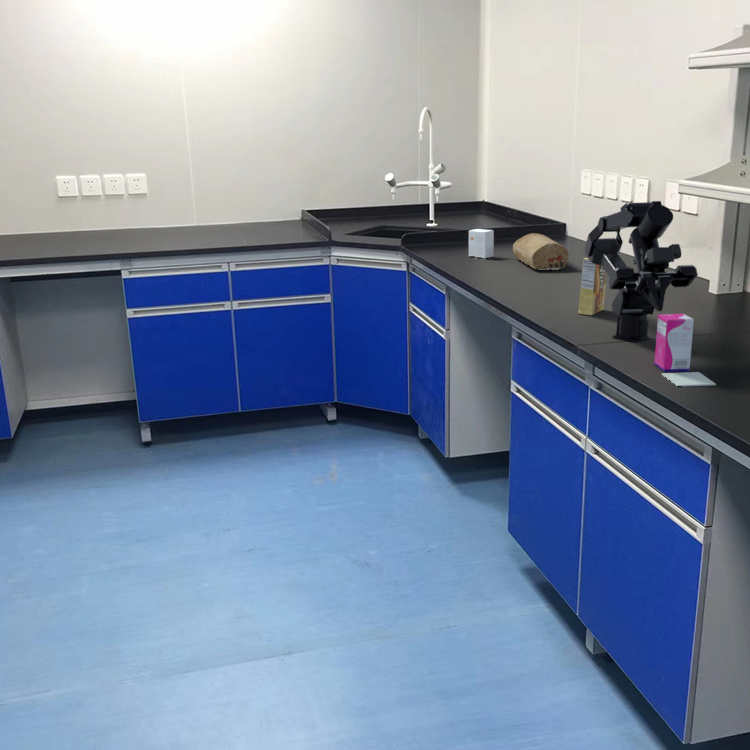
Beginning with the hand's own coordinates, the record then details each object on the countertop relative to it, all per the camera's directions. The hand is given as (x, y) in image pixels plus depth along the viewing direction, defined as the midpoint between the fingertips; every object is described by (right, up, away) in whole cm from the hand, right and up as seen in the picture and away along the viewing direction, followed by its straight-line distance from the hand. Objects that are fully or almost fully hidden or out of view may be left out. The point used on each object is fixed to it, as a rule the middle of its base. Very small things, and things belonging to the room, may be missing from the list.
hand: (660, 310), depth 184 cm
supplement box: (0, -13, -6) cm, 14 cm away
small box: (-23, +30, +133) cm, 138 cm away
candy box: (-4, +3, +44) cm, 45 cm away
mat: (+1, -15, -14) cm, 21 cm away
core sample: (-4, +25, +116) cm, 118 cm away
